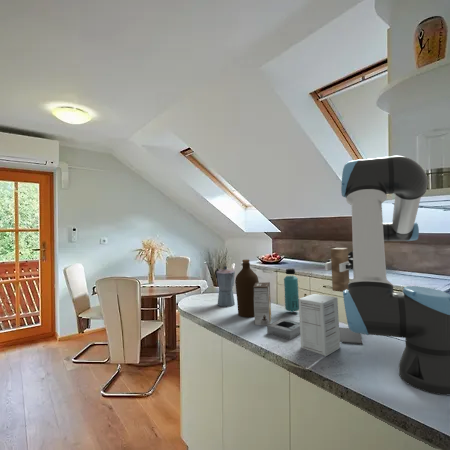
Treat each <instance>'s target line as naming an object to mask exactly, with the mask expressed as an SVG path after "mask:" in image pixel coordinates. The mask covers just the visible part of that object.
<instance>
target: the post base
mask: <svg viewBox="0 0 450 450" xmlns="http://www.w3.org/2000/svg"><path fill="white" fill-rule="evenodd" d="M266 332H267V334H268V335H271V336H275V337H279V338H283V339H286V340H290V341H291V340H292V339H294V338H296V337H297V336H299V335H300V321H294V320H291V319H290V320H289V319H287V318H280V319H278V320H276V321H274V322H272V323H270V324H269V325H266Z"/></svg>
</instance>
